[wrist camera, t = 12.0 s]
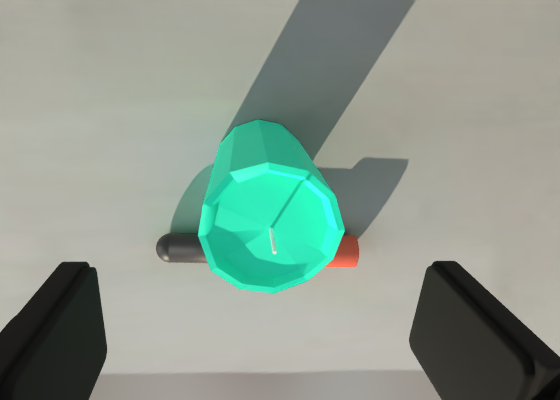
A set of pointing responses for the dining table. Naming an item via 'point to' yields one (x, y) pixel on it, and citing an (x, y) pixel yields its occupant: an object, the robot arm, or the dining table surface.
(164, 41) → the dining table surface
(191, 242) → the marker
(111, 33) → the dining table surface
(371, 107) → the dining table surface
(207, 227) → the candle
